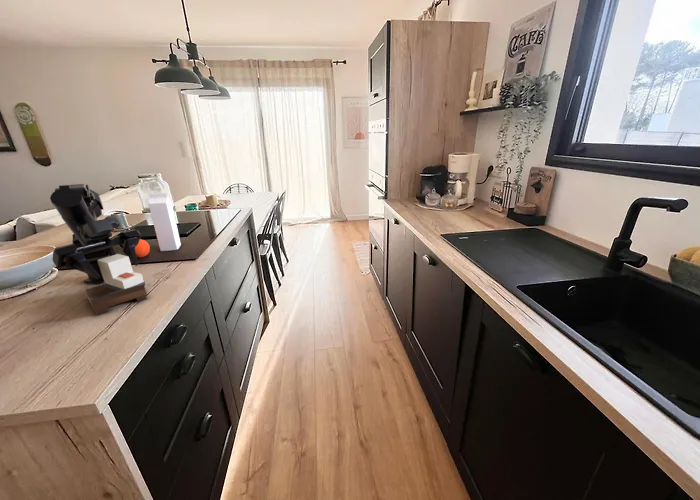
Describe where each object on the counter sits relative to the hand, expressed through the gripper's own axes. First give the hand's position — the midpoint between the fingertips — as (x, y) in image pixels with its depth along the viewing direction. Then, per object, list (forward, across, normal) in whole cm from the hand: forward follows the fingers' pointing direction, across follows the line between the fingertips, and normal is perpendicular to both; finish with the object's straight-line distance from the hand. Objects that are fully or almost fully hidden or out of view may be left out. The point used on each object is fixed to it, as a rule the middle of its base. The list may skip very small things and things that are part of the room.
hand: (119, 271), depth 77 cm
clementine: (-14, +19, +25) cm, 34 cm away
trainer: (+4, 0, +3) cm, 5 cm away
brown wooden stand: (+5, -2, +5) cm, 8 cm away
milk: (-13, +30, +24) cm, 40 cm away
